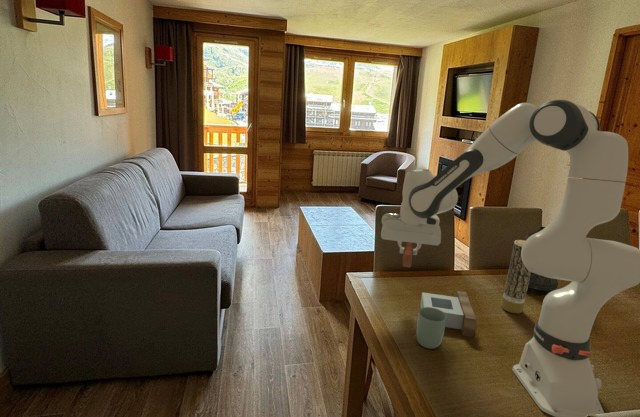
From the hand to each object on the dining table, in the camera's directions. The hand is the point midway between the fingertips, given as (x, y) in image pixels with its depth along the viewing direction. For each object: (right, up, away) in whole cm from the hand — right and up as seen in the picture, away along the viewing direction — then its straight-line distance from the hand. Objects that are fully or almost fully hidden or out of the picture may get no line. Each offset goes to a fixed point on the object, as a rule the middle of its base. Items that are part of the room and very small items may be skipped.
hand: (408, 253), depth 132 cm
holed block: (+9, -20, -6) cm, 23 cm away
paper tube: (+37, -20, +2) cm, 42 cm away
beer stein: (+56, -16, +20) cm, 62 cm away
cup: (+1, -24, -21) cm, 32 cm away
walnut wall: (+16, -21, -8) cm, 28 cm away
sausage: (0, -4, +1) cm, 4 cm away
